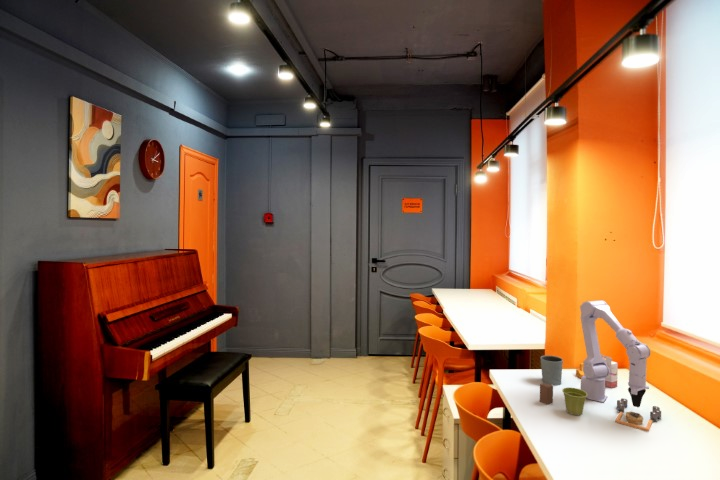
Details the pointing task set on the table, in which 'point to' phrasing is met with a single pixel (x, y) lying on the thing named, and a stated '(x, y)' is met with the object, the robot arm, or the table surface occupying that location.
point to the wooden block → (546, 393)
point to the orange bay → (633, 424)
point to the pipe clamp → (580, 371)
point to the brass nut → (634, 418)
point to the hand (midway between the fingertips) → (636, 406)
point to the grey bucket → (551, 369)
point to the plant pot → (574, 400)
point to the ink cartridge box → (611, 372)
